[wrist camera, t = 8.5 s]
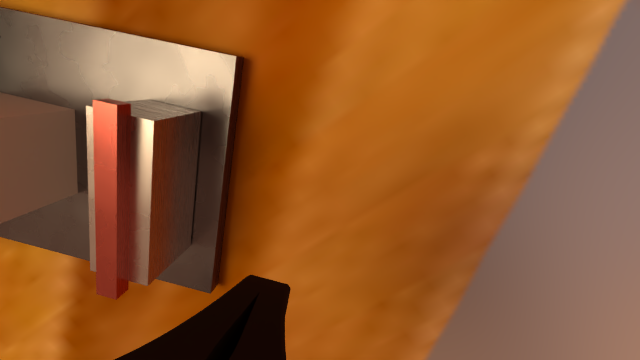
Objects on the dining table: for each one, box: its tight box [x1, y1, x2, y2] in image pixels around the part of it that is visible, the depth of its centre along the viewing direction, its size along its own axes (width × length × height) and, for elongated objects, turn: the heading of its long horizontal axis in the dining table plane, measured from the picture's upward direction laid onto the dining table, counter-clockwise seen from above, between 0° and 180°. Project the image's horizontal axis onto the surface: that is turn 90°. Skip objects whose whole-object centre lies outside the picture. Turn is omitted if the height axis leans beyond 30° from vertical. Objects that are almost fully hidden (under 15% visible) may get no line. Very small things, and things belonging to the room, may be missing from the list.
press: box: [0, 7, 244, 293], centre depth 18 cm, size 14×18×6 cm
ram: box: [86, 98, 201, 299], centre depth 17 cm, size 9×3×5 cm, turn 170°
